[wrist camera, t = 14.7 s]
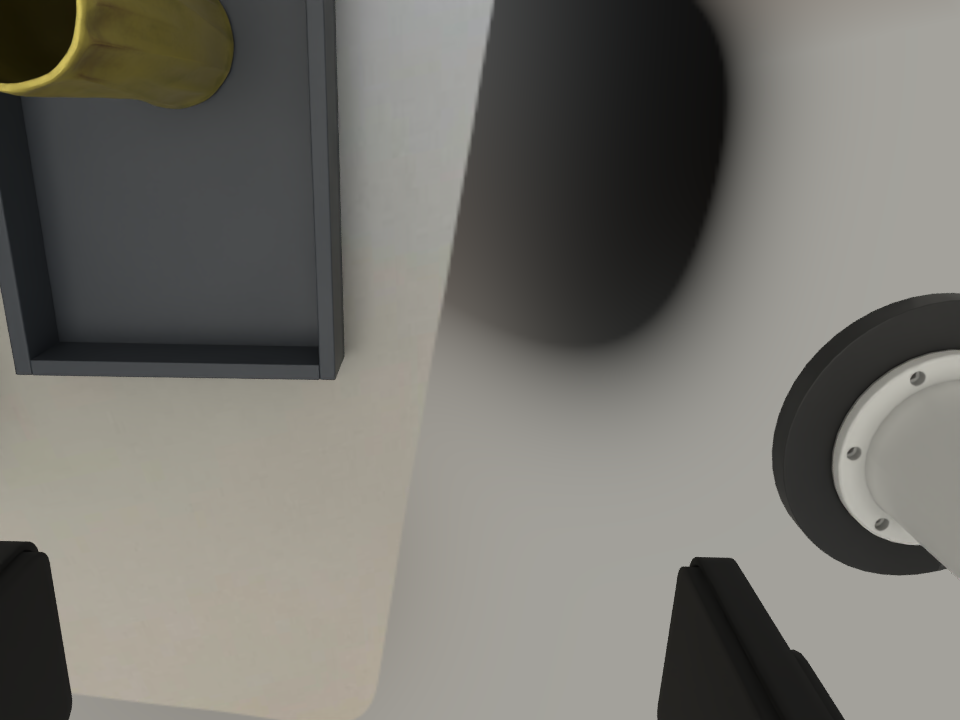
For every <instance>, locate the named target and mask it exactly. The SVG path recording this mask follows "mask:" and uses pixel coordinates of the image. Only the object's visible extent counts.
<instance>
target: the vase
mask: <svg viewBox="0 0 960 720" xmlns="http://www.w3.org/2000/svg"><path fill="white" fill-rule="evenodd" d="M233 52H234V42H233V34H232V29H231V26H230V22H229V19H228V17H227V14H226V12H225V10H224V8H223V6H222V4H221V3H220V1H219V0H0V92H3V93H8V94H12V95H17V96H25V97H72V98H115V99H135V100H141V101H145V102H147V103H149V104H152V105H154V106H158V107H163V108H171V109H182V108H188V107H191V106H194V105H197V104H199V103H201V102H203V101H205V100H207V99H208V98H210V97H211V96H212V95H213V94H214V93H215V92H216V91H217V90H218V89H219V87H220V86H221V85H222V83H223V82H224V80H225V79H226V77H227V75H228V73H229V72H230V68H231V64H232V59H233Z"/></svg>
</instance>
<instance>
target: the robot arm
mask: <svg viewBox="0 0 960 720" xmlns="http://www.w3.org/2000/svg"><path fill="white" fill-rule="evenodd" d="M831 469H832V476H833V482H834V487H835V489H836V492H837V494H838V496H839V499H840V501H841V502H842V504H843V505H844V507H845V508H846V509H847V511H848V512H849V513H850V514H851V515H852V516H853V517H854V518H855V519H856V520H857V521H858V522H859V523H860V524H861V525H862V526H863V527H864V528H866V529H867V530H868V531H870V532H871V533H873V534H874V535H876V536H879V537H881V538H884V539H886V540H889V541H891V542H896V543H902V544H907V545H922V546H923V547H924V548H925V549H926V550H927V551H928V552H930V553H931V554H932V555H933V556H934V557H935V558H936V559H937V560H938V561H939V562H940V563H942V564H943V565H944V566H945V567H946V568H947V569H948V570H949V571H950V572H951V573H953V574H954V575H955V576H956V577H957V578H958V579H959V580H960V349H949V350H943V351H937V352H931V353H927V354H924V355H921V356H919V357H916V358H913V359H910V360H908V361H906V362H904V363H902V364H900V365H898V366H896V367H895V368H893V369H891V370H889V371H888V372H887V373H885V374H884V375H883V376H881V377H880V378H879V379H877V380H876V381H875V382H873V383H872V384H871V385H870V386H869V387H868V388H867V389H866V390H865V391H864V392H863V393H862V394H861V395H860V396H859V397H858V399H857V400H856V401H855V403H854V404H853V406H852V407H851V409H850V410H849V411H848V413H847V414H846V416H845V418H844V420H843V422H842V424H841V426H840V429H839V431H838V433H837V436H836V440H835V444H834V448H833V451H832V468H831ZM71 708H72V695H71V689H70V683H69V677H68V671H67V665H66V659H65V653H64V647H63V641H62V635H61V628H60V622H59V616H58V610H57V604H56V598H55V592H54V586H53V580H52V574H51V568H50V562H49V559H48V556H47V555H46V554H45V553H43V552H38V549H37V547H36V546H35V544H34V543H31V542H20V541H0V720H68V719H69V716H70V712H71ZM657 718H658V720H845V719H844V718H843V716H842V715H841V713H840V712H839V710H838V708H837V707H836V705H835V704H834V702H833V701H832V699H831V698H830V696H829V694H828V693H827V691H826V690H825V688H824V687H823V685H822V683H821V682H820V680H819V679H818V677H817V675H816V674H815V672H814V671H813V669H812V668H811V666H810V664H809V663H808V661H807V660H806V659H805V658H804V656H803V655H802V654H801V653H799V652H797V651H795V650H790V648H789V647H788V645H787V643H786V642H785V640H784V639H783V637H782V636H781V634H780V632H779V631H778V629H777V627H776V626H775V624H774V622H773V621H772V619H771V617H770V616H769V614H768V613H767V611H766V610H765V608H764V606H763V605H762V603H761V601H760V600H759V598H758V596H757V595H756V593H755V592H754V590H753V588H752V587H751V585H750V584H749V582H748V580H747V579H746V577H745V575H744V574H743V573H742V571H741V569H740V568H739V566H738V564H737V563H736V561H735V560H734V559H732V558H710V557H709V558H708V557H695V558H693V559H692V561H691V564H690V567H681V568H680V570H679V573H678V577H677V584H676V591H675V597H674V604H673V610H672V617H671V623H670V629H669V636H668V643H667V649H666V657H665V663H664V669H663V676H662V682H661V688H660V695H659V701H658V710H657Z"/></svg>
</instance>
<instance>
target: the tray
mask: <svg viewBox="0 0 960 720" xmlns="http://www.w3.org/2000/svg"><path fill="white" fill-rule="evenodd" d="M219 1H220V3H221V4H222V6H223V8H224V10H225V12H226V14H227V17H228V19H229V22H230V26H231V29H232V34H233V42H234V52H233V59H232V64H231V68H230V72H229V73H228V75H227V77H226V79H225V80H224V82H223V83H222V85H221V86H220V87H219V89H218V90H217V91H216V92H215V93H214V94H213V95H212V96H211V97H210V98H208V99H207V100H205V101H203V102H201V103H199V104H197V105H194V106H191V107H188V108H182V109H171V108H163V107H158V106H154V105H152V104H149V103H147V102H145V101H141V100H135V99H115V98H72V97H25V96H17V95H12V94H8V93H3V92H0V287H1V293H2V298H3V304H4V309H5V315H6V320H7V326H8V331H9V337H10V342H11V348H12V353H13V359H14V364H15V370H16V374H17V375H32V374H33V375H53V376H116V377H179V378H241V379H304V380H319V379H321V380H335V379H336V376H337V374H338V371H339V369H340V366H341V364H342V361H343V359H344V324H343V286H342V248H341V209H340V171H339V133H338V95H337V57H336V18H335V0H219Z"/></svg>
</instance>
